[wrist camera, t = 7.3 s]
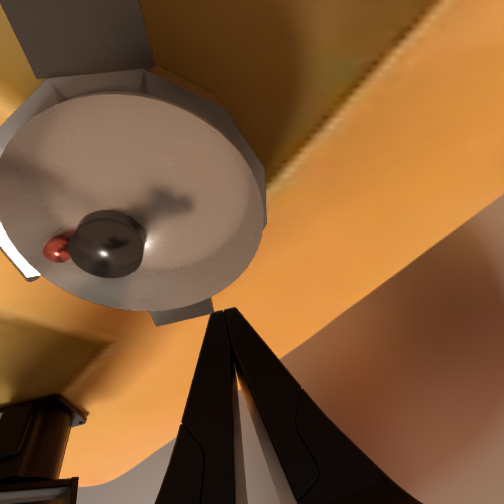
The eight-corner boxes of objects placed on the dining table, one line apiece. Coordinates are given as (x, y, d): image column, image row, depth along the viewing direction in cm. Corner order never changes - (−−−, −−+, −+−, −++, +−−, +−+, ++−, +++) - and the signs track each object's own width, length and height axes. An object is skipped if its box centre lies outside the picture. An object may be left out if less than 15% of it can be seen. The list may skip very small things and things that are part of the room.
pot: (255, 265, 23) (269, 302, 19) (94, 299, 21) (81, 346, 18) (234, -15, 12) (258, -33, 9) (-99, 4, 10) (-221, -11, 7)
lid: (67, 318, 16) (54, 348, 14) (-100, 111, 9) (-161, 127, 7) (264, 282, 17) (271, 306, 16) (253, 76, 10) (266, 83, 9)
